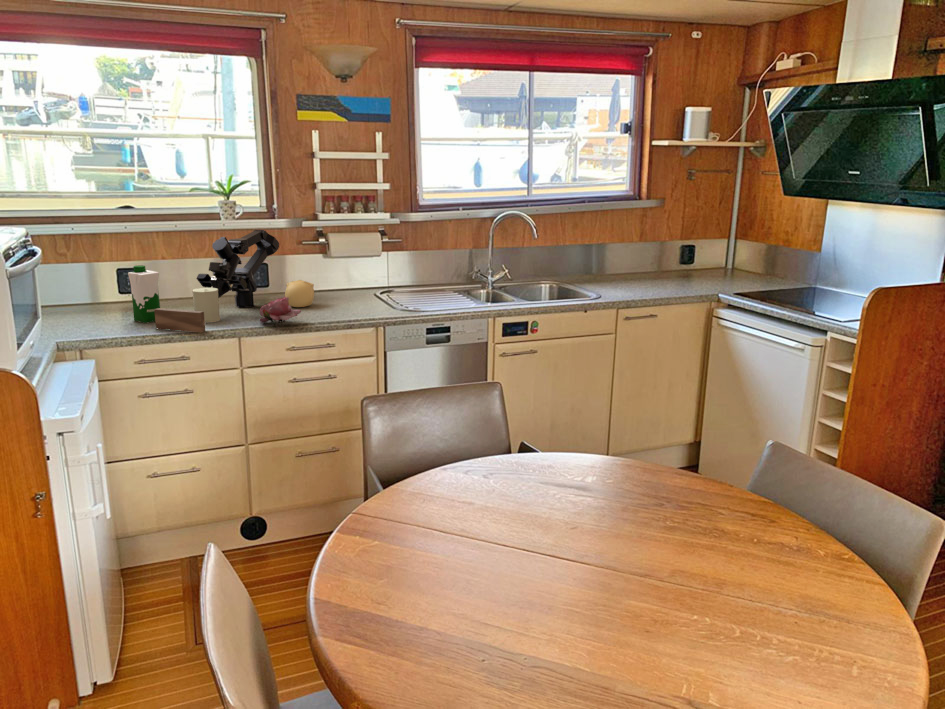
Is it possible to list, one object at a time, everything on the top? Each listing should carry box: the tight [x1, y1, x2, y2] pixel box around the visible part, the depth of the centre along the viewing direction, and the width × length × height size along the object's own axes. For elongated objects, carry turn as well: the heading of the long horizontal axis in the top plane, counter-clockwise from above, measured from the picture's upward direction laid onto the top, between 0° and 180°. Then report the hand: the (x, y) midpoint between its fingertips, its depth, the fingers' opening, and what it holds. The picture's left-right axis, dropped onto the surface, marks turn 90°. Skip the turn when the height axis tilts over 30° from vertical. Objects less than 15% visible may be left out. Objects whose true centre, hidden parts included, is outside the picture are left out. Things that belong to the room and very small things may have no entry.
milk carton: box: [127, 264, 161, 324], centre depth 282 cm, size 9×9×20 cm
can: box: [192, 287, 221, 323], centre depth 285 cm, size 9×9×12 cm
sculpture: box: [284, 279, 315, 308], centre depth 312 cm, size 12×12×11 cm
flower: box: [259, 296, 302, 327], centre depth 280 cm, size 15×15×10 cm
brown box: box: [154, 307, 206, 333], centre depth 270 cm, size 3×18×7 cm, turn 76°
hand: (214, 299), depth 289 cm, fingers closed
